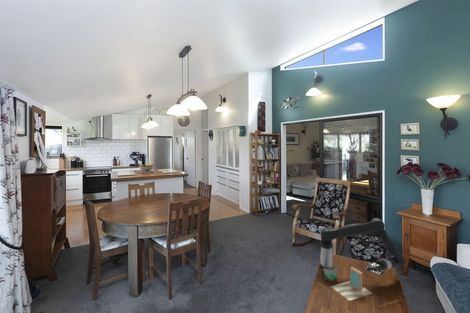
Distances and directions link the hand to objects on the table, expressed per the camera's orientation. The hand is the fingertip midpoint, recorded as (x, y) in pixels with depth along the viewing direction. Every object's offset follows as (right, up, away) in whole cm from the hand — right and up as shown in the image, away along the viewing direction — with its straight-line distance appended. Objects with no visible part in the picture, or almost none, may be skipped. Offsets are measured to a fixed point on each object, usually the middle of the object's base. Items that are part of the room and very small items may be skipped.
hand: (367, 269), depth 185 cm
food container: (-24, -14, +9) cm, 29 cm away
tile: (-10, -13, -3) cm, 17 cm away
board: (-15, -14, -5) cm, 21 cm away
